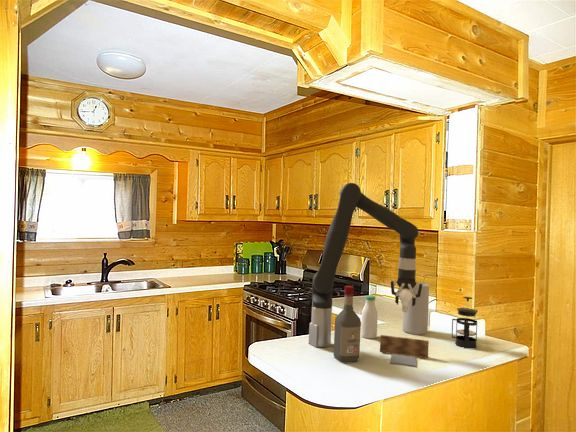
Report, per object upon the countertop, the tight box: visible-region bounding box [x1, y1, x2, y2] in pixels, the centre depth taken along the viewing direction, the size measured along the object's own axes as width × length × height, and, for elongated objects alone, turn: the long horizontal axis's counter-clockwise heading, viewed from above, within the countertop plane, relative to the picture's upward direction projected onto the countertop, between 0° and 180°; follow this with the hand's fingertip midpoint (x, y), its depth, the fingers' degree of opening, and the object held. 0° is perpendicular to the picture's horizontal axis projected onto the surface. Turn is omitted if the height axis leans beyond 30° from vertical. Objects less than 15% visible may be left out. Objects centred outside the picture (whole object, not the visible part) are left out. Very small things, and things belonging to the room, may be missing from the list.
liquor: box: [333, 285, 361, 364], centre depth 166 cm, size 9×9×30 cm
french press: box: [451, 296, 478, 349], centre depth 190 cm, size 12×9×23 cm
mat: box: [389, 353, 417, 368], centre depth 166 cm, size 10×10×1 cm
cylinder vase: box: [402, 281, 430, 336], centre depth 210 cm, size 12×12×25 cm
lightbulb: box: [398, 289, 413, 313], centre depth 181 cm, size 6×6×11 cm
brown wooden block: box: [379, 334, 429, 360], centre depth 174 cm, size 20×5×7 cm, turn 73°
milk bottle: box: [360, 295, 378, 340], centre depth 198 cm, size 8×8×20 cm
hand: (405, 305), depth 181 cm, fingers closed on lightbulb, 6 cm apart
